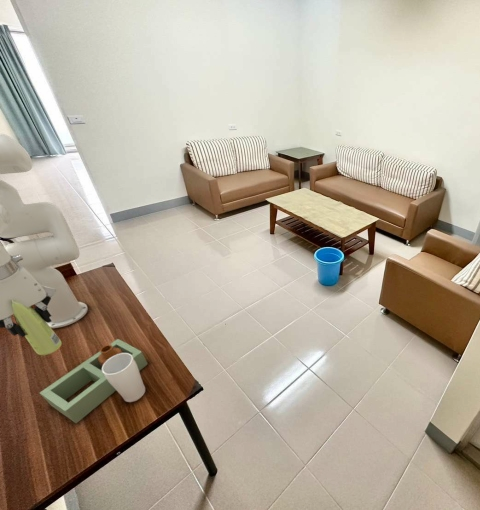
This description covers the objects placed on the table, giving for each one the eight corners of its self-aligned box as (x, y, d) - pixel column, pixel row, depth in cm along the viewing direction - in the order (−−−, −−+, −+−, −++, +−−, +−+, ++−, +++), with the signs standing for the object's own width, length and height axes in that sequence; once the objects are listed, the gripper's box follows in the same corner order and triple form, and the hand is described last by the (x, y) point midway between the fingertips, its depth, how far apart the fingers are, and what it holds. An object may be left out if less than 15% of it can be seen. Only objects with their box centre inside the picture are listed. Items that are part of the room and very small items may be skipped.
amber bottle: (104, 374, 83) (89, 352, 77) (122, 360, 87) (109, 338, 81) (116, 381, 82) (102, 359, 76) (133, 367, 86) (122, 345, 80)
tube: (28, 355, 70) (-16, 300, 59) (45, 339, 74) (6, 285, 63) (52, 356, 70) (12, 302, 60) (67, 340, 75) (33, 287, 64)
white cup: (128, 410, 75) (108, 379, 67) (116, 396, 78) (96, 365, 70) (153, 391, 80) (138, 360, 72) (141, 379, 83) (125, 348, 75)
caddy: (51, 405, 74) (39, 392, 71) (124, 351, 90) (117, 338, 87) (76, 423, 71) (65, 411, 68) (147, 364, 87) (141, 351, 84)
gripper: (30, 247, 65) (64, 301, 75) (-83, 287, 52) (-23, 346, 62) (49, 256, 63) (82, 311, 74) (-62, 300, 50) (-4, 359, 60)
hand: (33, 326), depth 68 cm, fingers closed on tube, 4 cm apart
